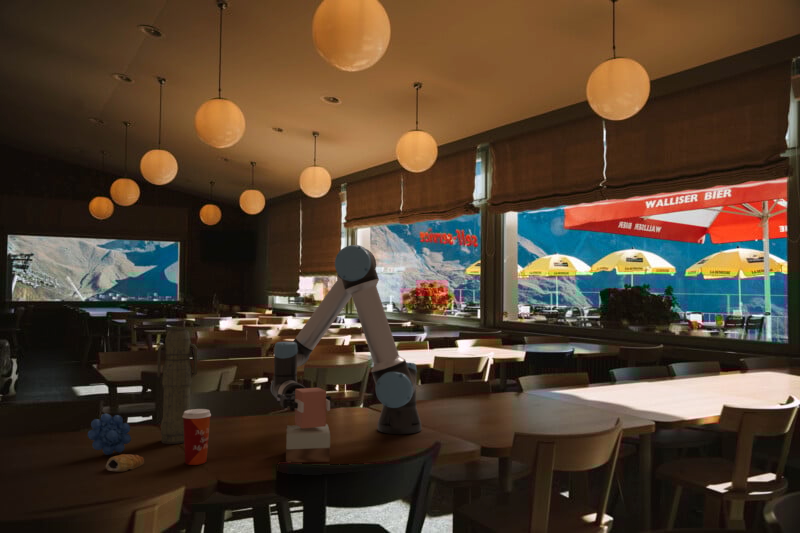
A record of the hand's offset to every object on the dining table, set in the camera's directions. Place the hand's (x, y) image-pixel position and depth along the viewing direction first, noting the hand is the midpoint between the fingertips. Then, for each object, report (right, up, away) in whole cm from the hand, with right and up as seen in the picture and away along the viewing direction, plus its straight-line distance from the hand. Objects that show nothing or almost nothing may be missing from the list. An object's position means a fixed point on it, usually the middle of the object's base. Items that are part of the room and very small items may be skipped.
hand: (315, 406), depth 172 cm
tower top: (-3, -11, +4) cm, 12 cm away
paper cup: (-33, -15, -3) cm, 36 cm away
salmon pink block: (-2, -6, +4) cm, 8 cm away
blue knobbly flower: (-59, -15, +3) cm, 61 cm away
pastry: (-50, -15, -9) cm, 53 cm away
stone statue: (-47, -16, +21) cm, 54 cm away
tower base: (-3, -15, +3) cm, 16 cm away
